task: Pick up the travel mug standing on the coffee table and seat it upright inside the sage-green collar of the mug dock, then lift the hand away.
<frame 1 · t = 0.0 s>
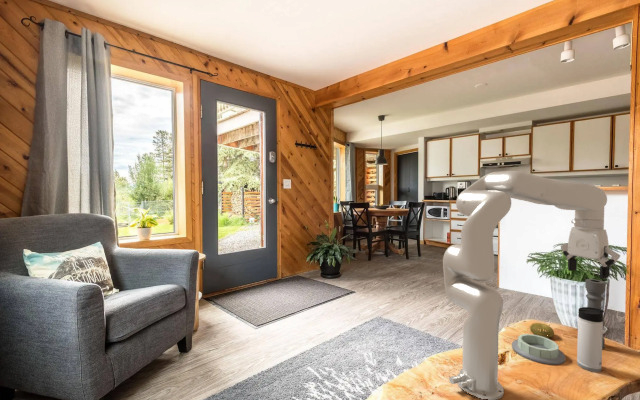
hand: (587, 274, 104), 31 cm above the table, fingers open, 9 cm apart
mug dock: (537, 352, 113), on the table
travel mug: (589, 367, 103), on the table
sculpture: (541, 335, 126), on the table
candle holder: (593, 345, 118), on the table
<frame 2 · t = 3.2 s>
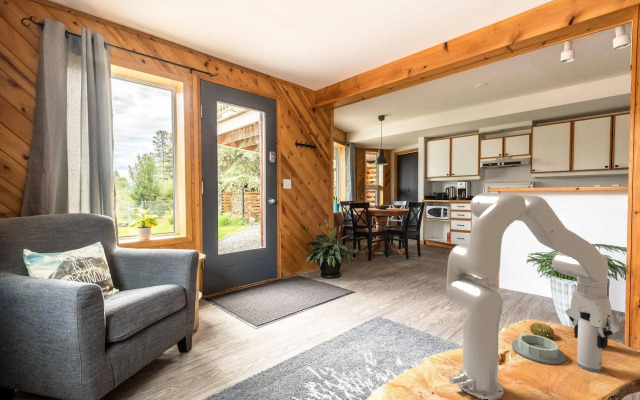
hand: (590, 341, 103), 9 cm above the table, fingers closed on travel mug, 6 cm apart
travel mug: (589, 367, 103), on the table, touching gripper
everything else where it was.
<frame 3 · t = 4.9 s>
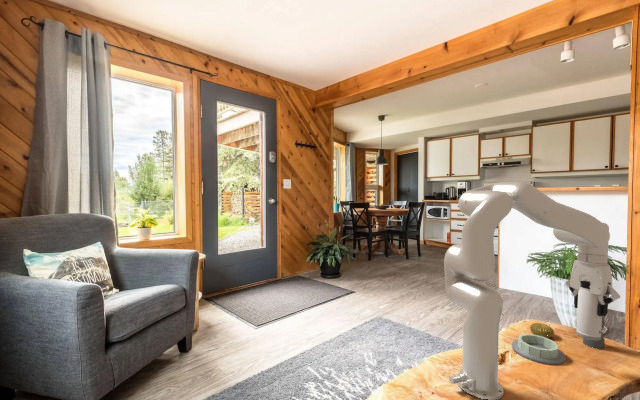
hand: (589, 311, 102), 19 cm above the table, fingers closed on travel mug, 6 cm apart
travel mug: (588, 337, 103), point 10 cm above the table, touching gripper
everything else where it was.
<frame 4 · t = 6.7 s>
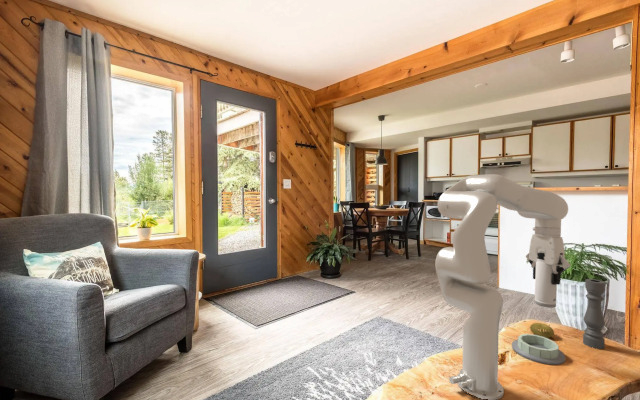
hand: (546, 280, 110), 27 cm above the table, fingers closed on travel mug, 6 cm apart
travel mug: (545, 305, 110), point 18 cm above the table, touching gripper
everything else where it was.
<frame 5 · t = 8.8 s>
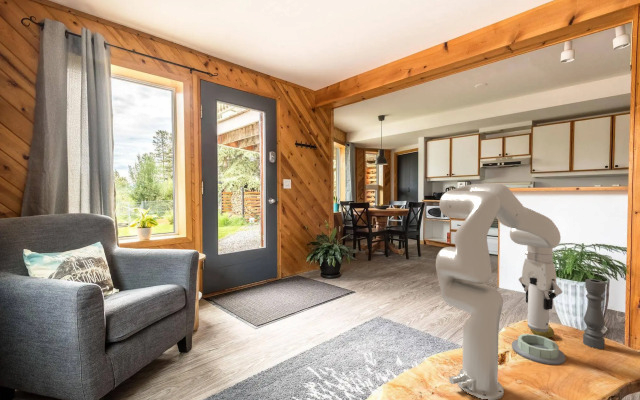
hand: (538, 305, 112), 18 cm above the table, fingers closed on travel mug, 6 cm apart
travel mug: (538, 328, 112), point 9 cm above the table, touching gripper
everything else where it was.
when the fingers open (10 cm above the table, at t = 10.7 s): travel mug stays where it is, resting on mug dock.
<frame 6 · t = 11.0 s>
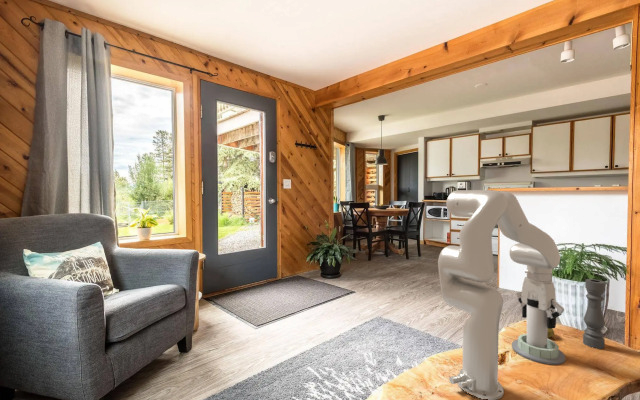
hand: (538, 322, 112), 11 cm above the table, fingers open, 9 cm apart
travel mug: (537, 350, 112), point 1 cm above the table, touching mug dock
everything else where it was.
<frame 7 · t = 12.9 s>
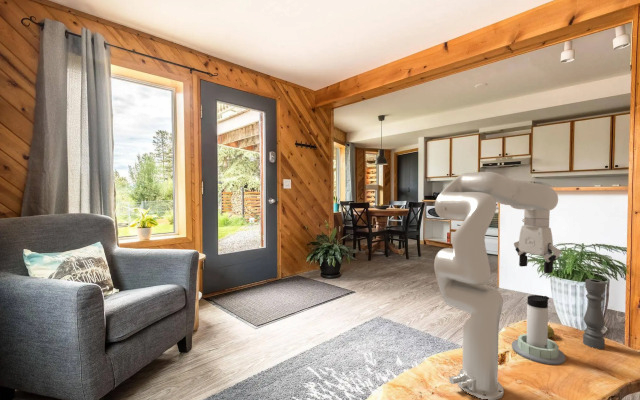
hand: (535, 269, 112), 31 cm above the table, fingers open, 9 cm apart
nothing on the table moved.
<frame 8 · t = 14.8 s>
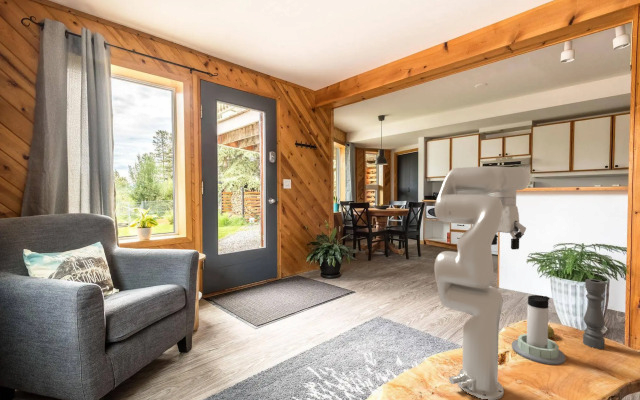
hand: (503, 246, 117), 38 cm above the table, fingers open, 9 cm apart
nothing on the table moved.
at the end: travel mug 0.2 cm off-centre on the mug dock, point 0.8 cm above the mug dock's base; travel mug tilted 0°; the gripper is holding nothing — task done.
